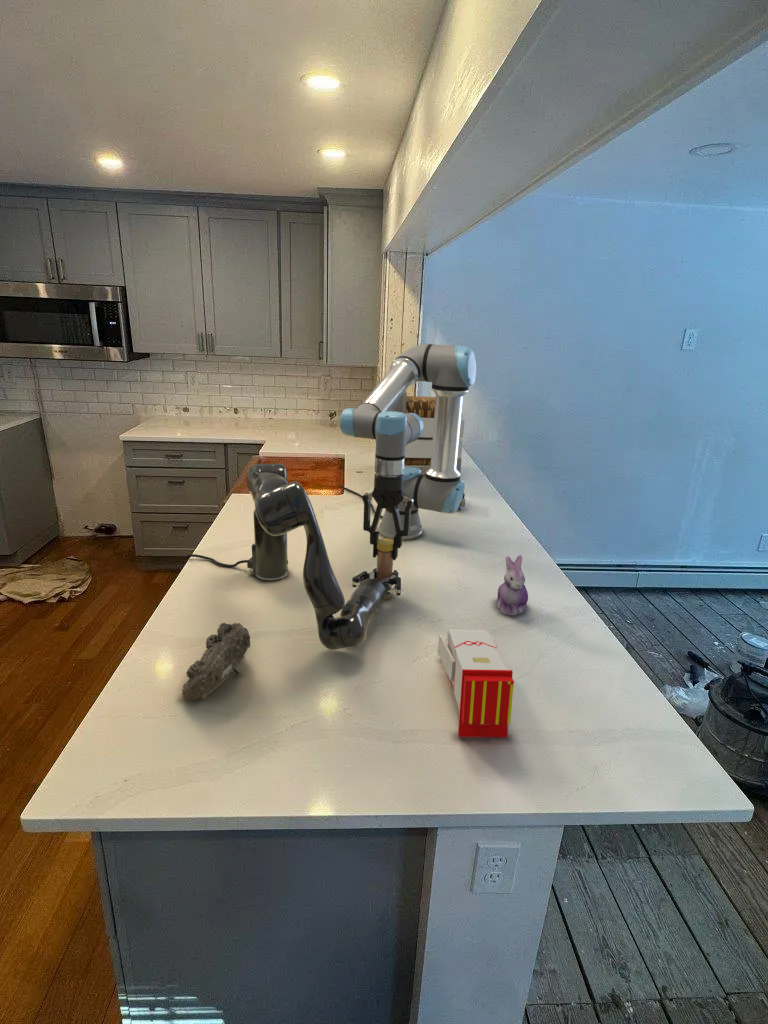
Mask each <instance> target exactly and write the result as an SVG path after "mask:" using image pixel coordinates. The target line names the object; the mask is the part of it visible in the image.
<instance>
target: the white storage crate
mask: <svg viewBox="0 0 768 1024" xmlns="http://www.w3.org/2000/svg"><path fill="white" fill-rule="evenodd" d="M407 394H408V393H407V389H406V390H405V392H404V393H403V394H402V396H401V397H400V398H399V399H398V401H397V402H396V403H395V405H394V406H393V407H392V408H391V410H390V411H393V412H401V413H404V414H406V413H414V414H416V415H418V416H419V417H420V418H421V419H422V421H423V424H424V430H423V433H422V435H421V436H420V437H419V438H418V439H417V440H416V441H414V442H411V443H409V444H407V445H406V446H405V462H404V466H406V467H417V466H418V467H430V466H431V453H432V440H433V427H434V414H435V401H436V396H415V395H414V396H413V395H412V396H411V395H407ZM464 429H465V419H464V418H463V411H462V412H461V423H460V433H459V444H458V455H457V465H456V469H457V470H458V472H459V473H460V475H461V472H462V461H463V460H462V453H463V442H464V441H463V440H462V439H463V438H464V431H465V430H464Z"/></svg>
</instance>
